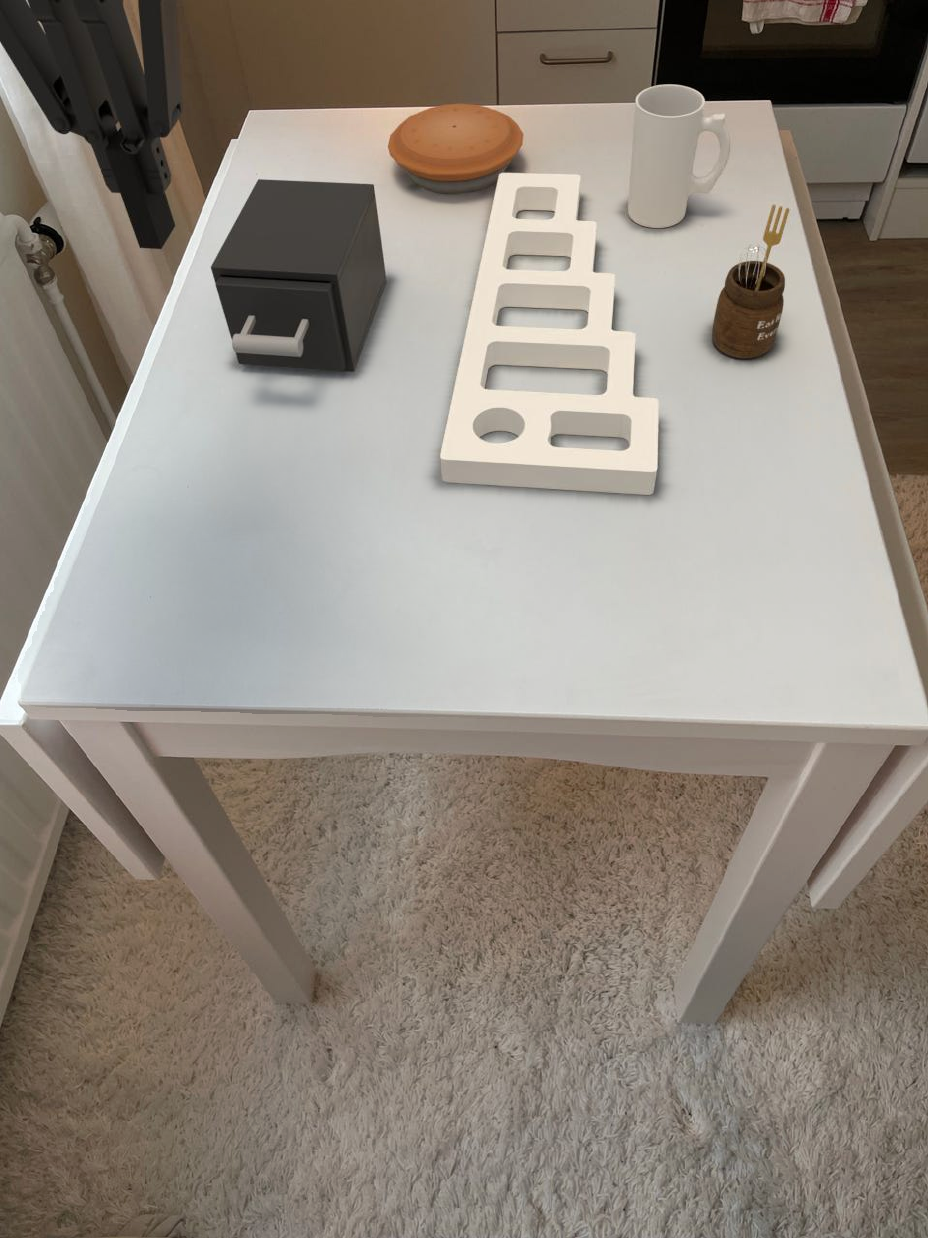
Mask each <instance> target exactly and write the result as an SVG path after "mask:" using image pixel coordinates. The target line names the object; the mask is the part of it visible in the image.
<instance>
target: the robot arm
mask: <svg viewBox="0 0 928 1238" xmlns="http://www.w3.org/2000/svg"><path fill="white" fill-rule="evenodd" d="M137 5H138V7H137V8H138V17H139V18H138V19H139V28H140V30H139V31H140V41H141V51H142V62H143V63H142V62H141V58H140V56H139V51H138V48H137V45H136V42H135V39H134V35H133V32H132V29H131V25H130V23H129V19H128V16H127V13H126V10H125V5H124V0H0V44H1V46H2V48H3V50H4V51H5V53H6V55H8V58H9V59H10V61H11V63H12V64H13V65H14V67H15V69H16V70H17V72H18V74H19V75H20V77H21V79H22V80H23V82H24V83H25V85H26V87H27V88H28V90H29V92H30V93H31V95H32V96H33V98H34V100H35V102H36V103H37V105H38V106H39V108H40V110H41V111H42V113H43V115H44V116H45V118H46V119H47V121H48V123H49V124H50V125H51V127H52V129H53V130H54V131H55V132H56V133H58V134H61V135H68V134H69V133H72V134H75V135H77V136H80V137H82V138H84V140H85V141H86V142H87V143H88V144H89V145H90V146H91V148H92V152H93V154H94V156H95V159H96V162H97V165H98V167H99V170H100V173H101V175H102V178H103V181H104V183H105V186H106V187H107V189H108V190H109V191H110V193H111V194H119V195H120V196H121V199H122V202H123V205H124V208H125V211H126V213H127V216H128V218H129V221H130V224H131V228H132V230H133V233H134V236H135V238H136V241H137V245H138V246H139V248H140V249H150V250H151V249H152V250H162V249H163V247H164V246H165V244H166V242H167V240H168V239H169V237H170V236H171V234H172V232H173V231H174V229H175V228H176V223H175V220H174V216H173V214H172V210H171V207H170V204H169V200H168V198H167V194H166V191H167V189H168V188H169V186H170V184H171V182H172V172H171V170H170V167H169V163H168V160H167V157H166V153H165V150H164V147H163V144H162V140H161V138H162V139H163V138H164V139H165V138H166V137H168V136H169V134H170V133H171V132H172V130H173V129H174V127H175V126H176V124H178V121H179V120H180V119H181V118H182V116H183V114H184V99H183V80H182V64H181V47H180V45H181V44H180V30H179V29H180V28H179V11H178V0H137ZM142 64H143V65H142ZM118 123H119V125H120V127H119V129H118V128H117V126H116V125H117V124H118Z"/></svg>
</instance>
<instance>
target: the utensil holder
mask: <svg viewBox="0 0 928 1238" xmlns="http://www.w3.org/2000/svg"><path fill="white" fill-rule="evenodd" d="M783 209H784V207H783V206H782V205H780V206H779V207H778V209H777V213H776V216H775V220H774V222H773V218H774V214H775V212H776V211H775V210H776V204H772V206H771V208H770V212H769V217H768V219H767V222H766V226H765V229H764V232H763V236H762V241H763V242H764V243H765V244H766V245H767V247H766V248H764V247H763V246H762V247H761V246H760V245H759V244H757V245H753V244H750V245H749V246H748V247H746V248H744V249H743V250H742V251H741V254H740V257H739V260H740V261H739V263H736V264H735V265H733V266H732V267H731V268H730V270H729V271H728V273H727V275H726V278H725V280H724V287H723V288H721V290H720V293H719V296H718V298H717V302H716V308H715V313H714V316H713V322H712V328H711V338H712V342H713V345H714V346H715V347H716V349H718V350H719V352H721V353H723V354H725V355H727V356H728V357H733V358H735V359H753V358H758V357H760V356H763V355H765V354H767V352H768V351H770V349H771V348H772V347H773V345H774V343H775V340H776V338H777V334H778V330H779V326H780V323H781V319H782V315H783V310H784V305H785V304H784V302H785V301H784V300H785V299H784V292H785V288H786V277H785V274H784V272H783V271H782V270H781V269H780V268H779V267H778V266H776V265H774V264H771V263H770V262H768V261H769V257H770V254H771V250H772V247H773V246H777V245H779V243H781V240H782V236H783V234H784V230H785V227H786V223H787V219H788V216H789V213H790V208H789V207H786V208H785V211H784V213H783V217H782V220H781V224H780V227H779V231H778V232H777V229H778V225H779V222H780V219H781V215H782V211H783ZM772 222H773V227H772V230H770V229H771V225H772ZM761 249H763V250H764V251H765V253H764V251H763V250H761ZM745 250H747V252H746V253H745V254H744V255H743V252H744V251H745ZM752 250H753V251H752ZM751 251H752V253H751V256H750V258H749V260H748V258H746V260H745V261H743V259H744V258H745V256H746V257H748V256H749V255H748V254H749V252H751ZM755 251H756V254H757V256H756V259H757V260H752V257H753V254H754V252H755ZM759 252H761V253H762V254H763V255H764V258H763V261H761V260H760V256H759ZM742 255H743V256H742Z"/></svg>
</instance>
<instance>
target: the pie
mask: <svg viewBox="0 0 928 1238" xmlns="http://www.w3.org/2000/svg"><path fill="white" fill-rule="evenodd" d="M523 143H524V132H523V130H522V129H521V128H520V125H519V124H518V123H517V122H516V121H515V120H514V119H512V117H510V115H507V114H505V113H503V112H500V111H499V110H496V109H493V108H490V107H487V106H484V105H483V106H482V105H478V104H474V103H473V104H471V103H451V104H450V103H449V104H443V105H437V106H433V107H429V108H427V109H424V110H422V111H419V112H417V113H414V114H412V115H409V116H408V117H407V118H406V119H404V120H403V121H402V122H401V123H399V125H398V126H397V127H396V128H395V129H394V130H393V131H392V133H390V135H389V139H388V144H387V148H388V153H389V156H390V157H391V158H392V159H393V160H394V161H395V162H396V164H398V165H399V166H400V167H401V168H402V169H404V170H405V172H406V174H407V175H408V176H409V177H410V178H411V180H412V181H413V182H414V183H415V184H416V185H417V186H419V187H421V188H423V189H425V190H427V191H430V192H433V193H437V194H438V193H439V194H445V195H446V194H447V195H460V194H469V193H473V192H477V191H480V190H483V189H486V188H487V187H490V186H492V185H493V184H495V183H497V182H498V177H499V174H500V173H505V171H506V170H507V168H508V166H509V165H510V163H511V161H512V160H513V159H514V158H515V157H516V155H517V154H518V152H519V151H520V149H521V147H522V146H523Z"/></svg>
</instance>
